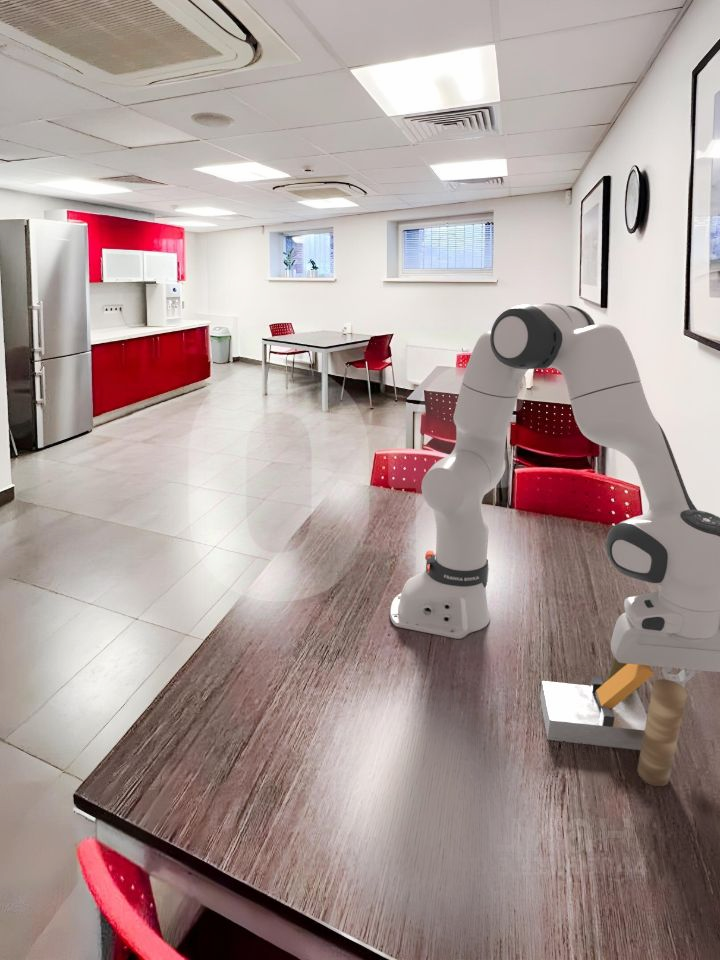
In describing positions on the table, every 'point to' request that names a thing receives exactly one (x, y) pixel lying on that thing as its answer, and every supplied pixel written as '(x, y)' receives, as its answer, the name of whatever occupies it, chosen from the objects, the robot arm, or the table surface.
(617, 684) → the lever
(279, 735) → the table surface
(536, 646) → the table surface
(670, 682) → the oak post
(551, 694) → the breaker box
